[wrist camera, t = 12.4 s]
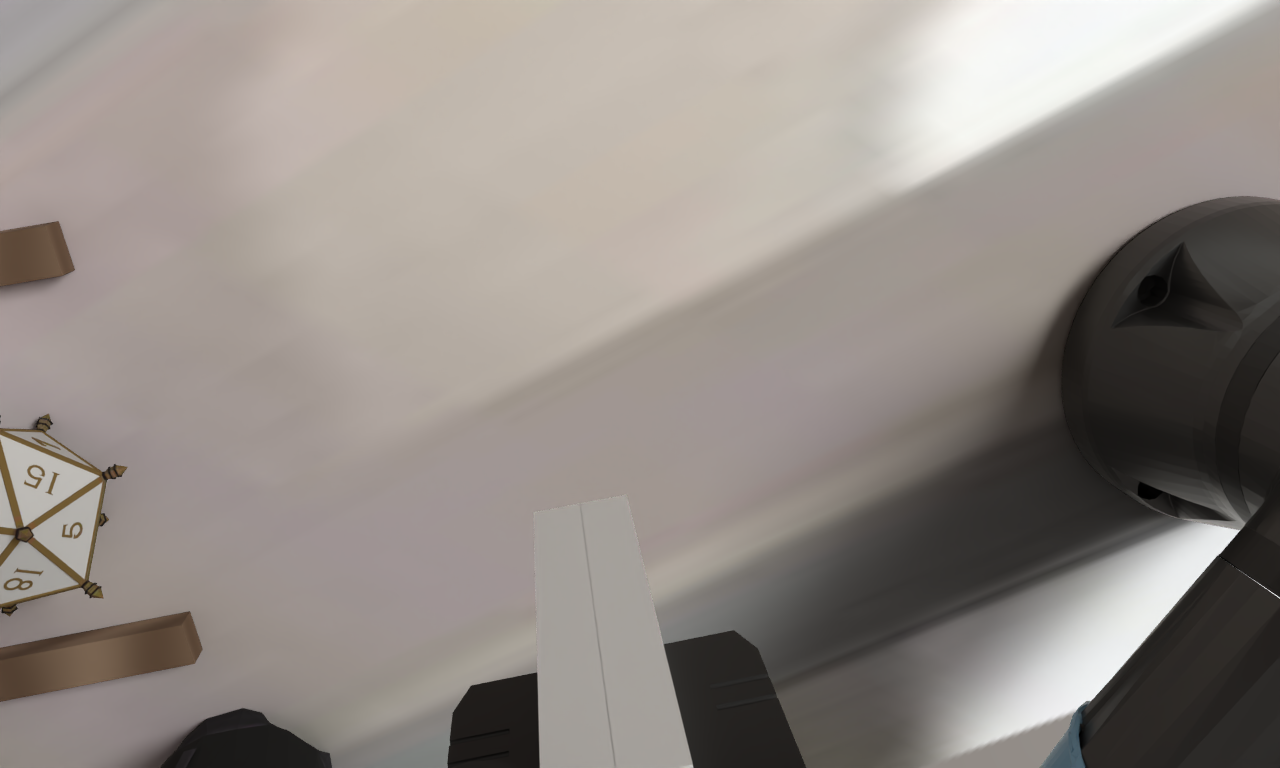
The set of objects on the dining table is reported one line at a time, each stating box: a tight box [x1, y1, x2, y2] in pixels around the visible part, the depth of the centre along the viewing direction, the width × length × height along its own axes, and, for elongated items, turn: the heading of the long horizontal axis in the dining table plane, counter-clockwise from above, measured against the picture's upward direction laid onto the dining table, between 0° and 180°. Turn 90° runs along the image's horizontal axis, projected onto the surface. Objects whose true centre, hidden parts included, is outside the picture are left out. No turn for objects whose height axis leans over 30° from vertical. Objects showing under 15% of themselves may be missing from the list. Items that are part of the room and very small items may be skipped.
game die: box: [0, 414, 127, 616], centre depth 40 cm, size 9×8×10 cm
